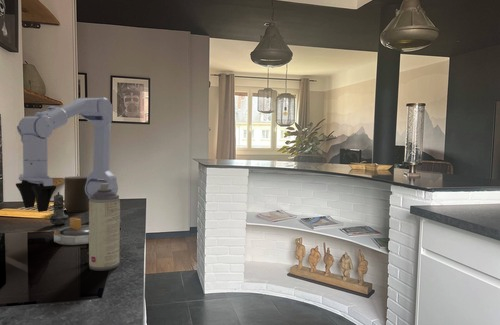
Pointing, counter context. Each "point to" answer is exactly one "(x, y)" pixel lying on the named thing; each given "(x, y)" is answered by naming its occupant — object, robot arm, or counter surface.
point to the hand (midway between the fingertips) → (35, 209)
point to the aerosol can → (104, 229)
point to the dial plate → (70, 238)
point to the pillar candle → (76, 194)
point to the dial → (76, 228)
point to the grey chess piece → (58, 211)
